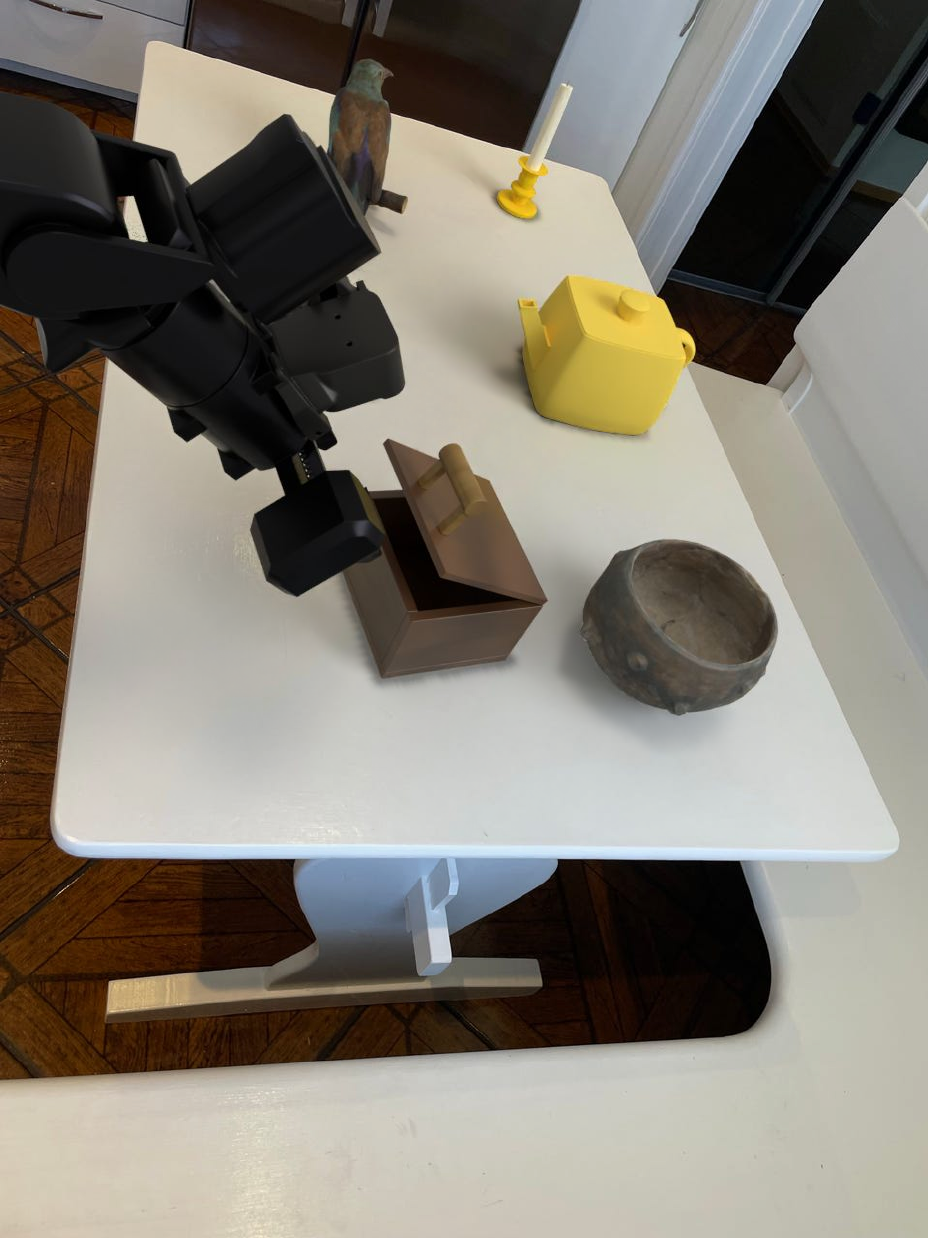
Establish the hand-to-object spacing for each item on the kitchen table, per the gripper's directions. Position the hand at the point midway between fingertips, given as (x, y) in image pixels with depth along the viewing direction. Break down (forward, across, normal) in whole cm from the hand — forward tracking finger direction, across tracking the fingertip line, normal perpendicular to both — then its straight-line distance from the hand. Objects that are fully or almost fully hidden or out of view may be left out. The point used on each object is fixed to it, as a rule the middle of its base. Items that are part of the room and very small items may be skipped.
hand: (352, 498), depth 58 cm
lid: (+9, 0, -4) cm, 10 cm away
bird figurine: (+24, +52, -5) cm, 57 cm away
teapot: (+35, +24, -16) cm, 46 cm away
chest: (+16, 0, +3) cm, 16 cm away
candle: (+40, +57, -22) cm, 74 cm away
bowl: (+28, -8, -9) cm, 31 cm away
